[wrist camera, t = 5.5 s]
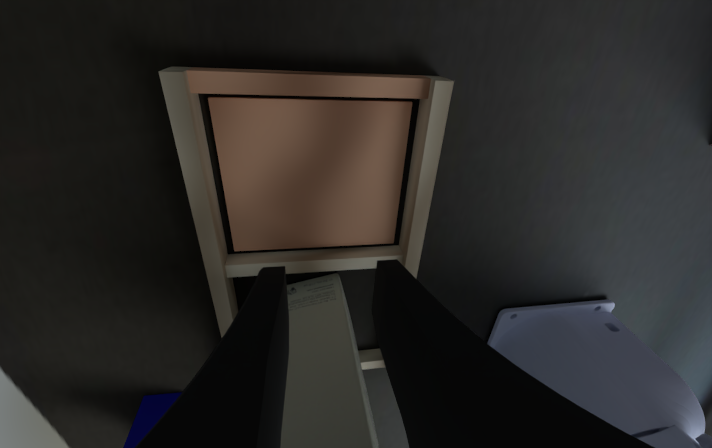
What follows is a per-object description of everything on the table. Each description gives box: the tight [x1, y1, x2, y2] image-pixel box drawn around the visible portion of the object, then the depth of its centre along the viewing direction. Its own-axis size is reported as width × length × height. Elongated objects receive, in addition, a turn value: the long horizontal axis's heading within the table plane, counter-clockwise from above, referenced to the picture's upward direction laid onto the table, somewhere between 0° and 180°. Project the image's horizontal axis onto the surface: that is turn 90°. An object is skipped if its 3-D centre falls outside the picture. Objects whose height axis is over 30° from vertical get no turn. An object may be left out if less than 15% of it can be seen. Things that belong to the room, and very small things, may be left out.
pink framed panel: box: [158, 67, 454, 370], centre depth 18 cm, size 11×19×2 cm, turn 177°
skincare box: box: [280, 273, 379, 448], centre depth 16 cm, size 6×4×12 cm
